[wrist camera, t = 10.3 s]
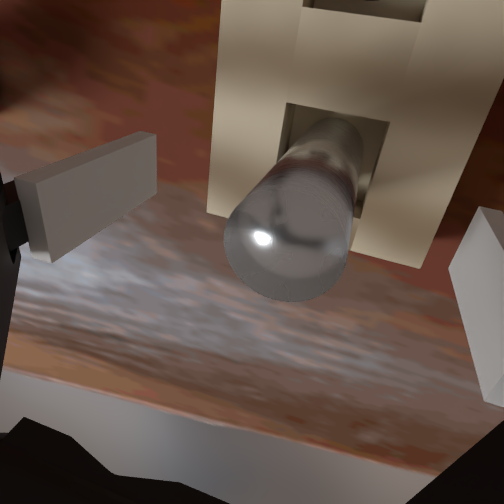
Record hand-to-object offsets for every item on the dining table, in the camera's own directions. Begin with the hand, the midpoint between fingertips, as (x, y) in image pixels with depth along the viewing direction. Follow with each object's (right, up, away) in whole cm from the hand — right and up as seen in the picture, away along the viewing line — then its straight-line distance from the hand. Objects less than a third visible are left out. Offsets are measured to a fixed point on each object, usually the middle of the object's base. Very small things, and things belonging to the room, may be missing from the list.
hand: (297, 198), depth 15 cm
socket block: (+4, +9, +7) cm, 12 cm away
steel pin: (+3, +4, +8) cm, 10 cm away
